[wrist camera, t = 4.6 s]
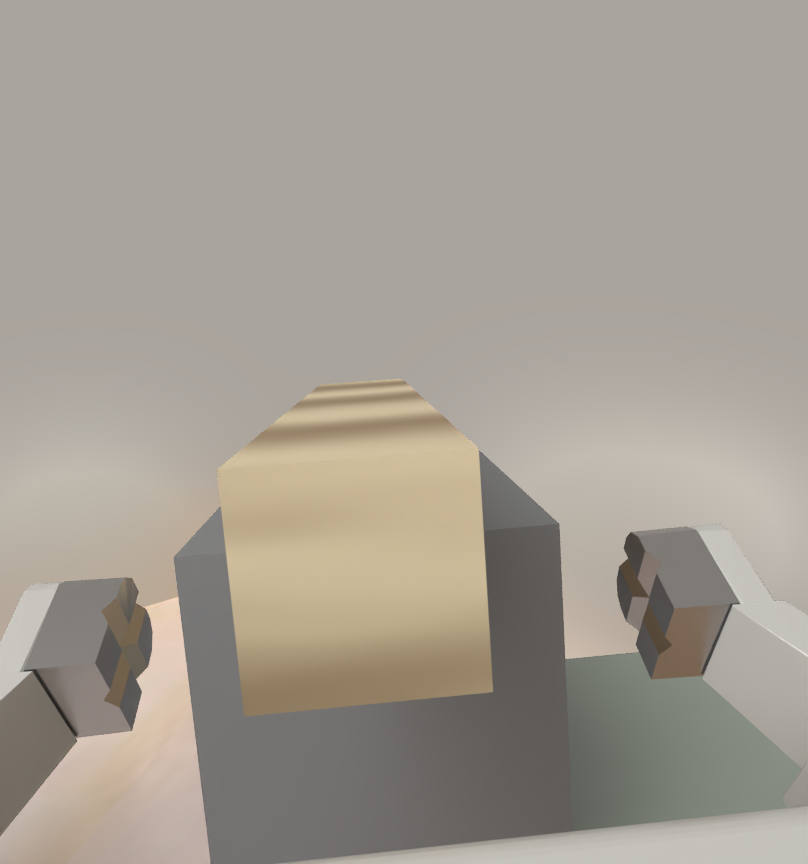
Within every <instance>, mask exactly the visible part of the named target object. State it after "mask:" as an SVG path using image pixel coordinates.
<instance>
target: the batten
mask: <svg viewBox="0 0 808 864" xmlns="http://www.w3.org/2000/svg"><path fill="white" fill-rule="evenodd" d="M217 475H218V485H219V494H220V502H221V512H222V521H223V530H224V539H225V548H226V557H227V566H228V575H229V584H230V593H231V602H232V611H233V620H234V629H235V638H236V647H237V656H238V665H239V674H240V683H241V692H242V701H243V710H244V716H255V715H265V714H275V713H285V712H295V711H306V710H316V709H326V708H336V707H347V706H357V705H367V704H377V703H387V702H398V701H408V700H418V699H428V698H438V697H449V696H459V695H469V694H479V693H489V692H493V682H492V665H491V648H490V631H489V614H488V597H487V580H486V563H485V546H484V530H483V513H482V496H481V479H480V462H479V448H478V447H477V446H475V445H474V444H473V443H472V442H471V441H470V440H469V439H468V438H467V437H466V436H464V435H463V434H462V433H461V432H460V431H459V430H458V429H457V428H455V426H453V425H452V424H451V423H450V422H449V421H448V420H447V419H446V418H445V417H443V416H442V415H441V414H440V413H439V412H438V411H437V410H436V409H435V408H433V407H432V406H431V405H430V404H429V403H428V402H427V401H426V400H425V399H424V398H422V397H421V396H420V395H419V394H418V393H417V392H416V391H415V390H414V389H413V388H411V387H410V386H409V385H408V384H407V383H406V382H405V381H404V380H403V379H389V380H376V381H363V382H350V383H337V384H323V385H319V386H318V387H317V388H316V389H315V390H313V391H312V392H311V393H310V394H308V395H307V396H306V397H305V398H304V399H302V400H301V401H300V402H299V403H297V404H296V405H295V406H294V407H293V408H292V409H290V410H289V411H288V412H286V413H285V414H284V415H283V416H282V417H280V418H279V419H278V420H277V421H276V422H274V423H273V424H272V425H271V426H269V427H268V428H267V429H266V430H265V431H263V432H262V433H261V434H260V435H258V436H257V437H256V438H255V439H254V440H252V441H251V442H250V443H249V444H247V445H246V446H245V447H244V448H243V449H241V450H240V451H239V452H238V453H236V454H235V455H234V456H233V457H232V458H230V459H229V460H228V461H227V462H226V463H224V464H223V465H222V466H221V467H219V468H218V469H217Z"/></svg>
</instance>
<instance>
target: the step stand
mask: <svg viewBox="0 0 808 864" xmlns="http://www.w3.org/2000/svg"><path fill="white" fill-rule="evenodd" d="M479 462H480V479H481V496H482V513H483V530H484V546H485V563H486V580H487V597H488V614H489V631H490V648H491V665H492V682H493V692H489V693H479V694H469V695H459V696H449V697H438V698H428V699H418V700H408V701H398V702H387V703H377V704H367V705H357V706H347V707H336V708H326V709H316V710H306V711H295V712H285V713H275V714H265V715H255V716H244V710H243V701H242V692H241V683H240V674H239V665H238V656H237V647H236V638H235V629H234V620H233V611H232V602H231V593H230V584H229V575H228V566H227V557H226V548H225V539H224V530H223V521H222V512H221V506H220V507H219V508H218V510H217V511H216V512H215V513H214V514H213V515H212V516H211V517H210V518H209V520H208V521H207V522H206V523H205V524H204V525H203V526H202V527H201V528H200V529H199V530H198V531H197V533H196V534H195V535H194V536H193V537H192V538H191V539H190V540H189V541H188V542H187V544H186V545H185V546H184V547H183V548H182V549H181V550H180V551H179V552H178V553H177V554H176V555H175V557H174V563H175V572H176V579H177V588H178V596H179V605H180V613H181V621H182V629H183V638H184V646H185V654H186V662H187V670H188V679H189V687H190V695H191V703H192V711H193V720H194V728H195V736H196V744H197V753H198V761H199V769H200V777H201V785H202V794H203V802H204V810H205V818H206V826H207V835H208V843H209V851H210V859H211V864H277V863H286V862H296V861H305V860H314V859H323V858H332V857H341V856H350V855H360V854H369V853H378V852H387V851H396V850H405V849H414V848H424V847H433V846H442V845H451V844H460V843H469V842H478V841H488V840H497V839H506V838H515V837H524V836H533V835H543V834H552V833H561V832H570V831H579V830H589V829H598V828H607V827H616V826H625V825H635V824H644V823H653V822H662V821H671V820H681V819H690V818H699V817H708V816H717V815H726V814H736V813H745V812H754V811H763V810H772V809H782V808H787V807H786V805H785V803H784V801H783V797H784V795H785V793H786V791H787V789H788V788H789V786H790V785H791V783H792V782H793V780H794V779H795V777H796V776H797V774H798V773H799V771H800V770H801V767H799V766H798V765H797V764H796V763H795V762H794V761H793V760H792V759H791V758H790V757H788V756H787V755H786V754H785V753H784V752H783V751H782V750H781V749H780V748H778V747H777V746H776V745H775V744H774V743H773V742H772V741H771V740H770V739H769V738H767V737H766V736H765V735H764V734H763V733H762V732H761V731H760V730H759V729H757V728H756V727H755V726H754V725H753V724H752V723H751V722H750V721H749V720H748V719H746V718H745V717H744V716H743V715H742V714H741V713H740V712H739V711H738V710H736V709H735V708H734V707H733V706H732V705H731V704H730V703H729V702H728V701H727V700H725V699H724V698H723V697H722V696H721V695H720V694H719V693H718V692H717V691H715V690H714V689H713V688H712V687H711V686H710V685H709V684H708V683H707V682H706V681H704V680H703V679H702V678H703V676H694V677H680V678H666V679H652V680H651V678H650V676H649V674H648V671H647V669H646V667H645V664H644V662H643V660H642V657H641V655H640V653H639V652H636V653H626V654H616V655H605V656H595V657H584V658H574V659H565V645H564V621H563V598H562V578H561V577H562V575H561V556H560V555H561V553H560V530H559V523H558V522H557V521H555V520H554V519H553V518H552V517H551V516H550V515H549V514H548V513H547V512H546V511H544V509H542V508H541V507H540V506H539V505H538V504H537V503H536V502H535V501H534V500H533V499H532V498H530V497H529V496H528V495H527V494H526V493H525V492H524V491H523V490H522V489H521V488H520V487H519V486H517V485H516V484H515V483H514V482H513V481H512V480H511V479H510V478H509V477H508V476H507V475H505V474H504V473H503V472H502V471H501V470H500V469H499V468H498V467H497V466H496V465H495V464H493V463H492V462H491V461H490V460H489V459H488V458H487V457H486V456H485V455H484V454H483V453H482V452H480V451H479Z"/></svg>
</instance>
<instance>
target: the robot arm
mask: <svg viewBox="0 0 808 864" xmlns="http://www.w3.org/2000/svg"><path fill="white" fill-rule="evenodd" d="M624 550H625V552H626V554H627V556H628V559H627V560H626V561H625V562H624V563H623V564H622V565H621V566H619V571H618V576H617V591H618V598H619V602H620V606H621V609H622V612H623V614H624V617H625V619H626V621H627V622H628V623H629V624H631V625H632V626H633V627H635V628H636V629H637V630H639V635H638V638H637V642H636V646H637V648H638V650H639V653H640V655H641V657H642V660H643V662H644V664H645V667H646V669H647V671H648V674H649V676H650V678H651V680H652V679H666V678H680V677H694V676H703V678H702V679H703V680H704V681H706V682H707V683H708V684H709V685H710V686H711V687H712V688H713V689H714V690H715V691H717V692H718V693H719V694H720V695H721V696H722V697H723V698H724V699H725V700H727V701H728V702H729V703H730V704H731V705H732V706H733V707H734V708H735V709H736V710H738V711H739V712H740V713H741V714H742V715H743V716H744V717H745V718H746V719H748V720H749V721H750V722H751V723H752V724H753V725H754V726H755V727H756V728H757V729H759V730H760V731H761V732H762V733H763V734H764V735H765V736H766V737H767V738H769V739H770V740H771V741H772V742H773V743H774V744H775V745H776V746H777V747H778V748H780V749H781V750H782V751H783V752H784V753H785V754H786V755H787V756H788V757H790V758H791V759H792V760H793V761H794V762H795V763H796V764H797V765H798V766H799V767H801V770H800V771H799V773H798V774H797V776H796V777H795V779H794V780H793V782H792V783H791V785H790V786H789V788H788V789H787V791H786V793H785V795H784V797H783V801H784V803H785V805H786V807H787V808H782V809H772V810H763V811H754V812H745V813H736V814H726V815H717V816H708V817H699V818H690V819H681V820H671V821H662V822H653V823H644V824H635V825H625V826H616V827H607V828H598V829H589V830H579V831H570V832H561V833H552V834H543V835H533V836H524V837H515V838H506V839H497V840H488V841H478V842H469V843H460V844H451V845H442V846H433V847H424V848H414V849H405V850H396V851H387V852H378V853H369V854H360V855H350V856H341V857H332V858H323V859H314V860H305V861H296V862H286V863H277V864H808V615H807V614H805V613H804V612H802V611H801V610H799V609H797V608H796V607H794V606H792V605H791V604H789V603H788V602H786V601H784V600H780V601H775V600H774V599H773V597H772V596H771V594H770V593H769V591H768V590H767V588H766V587H765V585H764V584H763V582H762V581H761V579H760V578H759V576H758V575H757V573H756V572H755V570H754V569H753V567H752V566H751V564H750V563H749V561H748V560H747V558H746V556H745V555H744V554H743V552H742V550H741V549H740V547H739V546H738V544H737V543H736V542H735V540H734V538H733V537H732V535H731V534H730V532H729V531H728V529H727V528H726V527H724V526H723V525H721V524H714V525H702V526H691V527H678V528H668V529H658V530H648V531H638V532H631V533H630V534H629V535H628V536H627V538H626V542H625V545H624ZM137 595H138V590H137V587H136V585H135V583H134V582H133V579H132V578H113V579H97V580H84V581H83V580H81V581H67V582H57V583H42V584H32V585H31V586H30V587H29V588H28V589H27V590H26V591H25V592H24V593H23V595H22V597H21V600H20V602H19V604H18V606H17V608H16V610H15V613H14V614H13V616H12V619H11V621H10V623H9V625H8V627H7V630H6V632H5V634H4V636H3V638H2V640H1V642H0V836H1V835H2V833H3V832H4V831H5V830H6V828H7V827H8V826H9V825H10V823H11V822H12V821H13V820H14V819H15V817H16V816H17V815H18V814H19V812H20V811H21V810H22V809H23V807H24V806H25V805H26V804H27V802H28V801H29V800H30V799H31V797H32V796H33V795H34V794H35V793H36V791H37V790H38V789H39V788H40V786H41V785H42V784H43V783H44V781H45V780H46V779H47V778H48V776H49V775H50V774H51V773H52V772H53V770H54V769H55V768H56V767H57V765H58V764H59V763H60V762H61V760H62V759H63V758H64V757H65V755H66V754H67V753H68V752H69V750H70V749H71V748H72V747H73V746H74V744H75V743H76V742H77V739H76V738H79V737H87V736H95V735H103V734H111V733H119V732H127V731H132V728H133V725H134V721H135V717H136V713H137V709H138V705H139V701H140V697H141V693H142V691H141V689H140V687H139V685H138V683H137V681H136V679H137V678H138V676H139V675H140V674H141V673H142V672H143V671H144V670H145V669H146V668H147V667H148V665H149V660H150V656H151V651H152V627H151V621H150V618H149V615H148V613H147V610H146V609H145V608H143V607H141V606H140V605H138V604H136V599H137Z"/></svg>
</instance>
